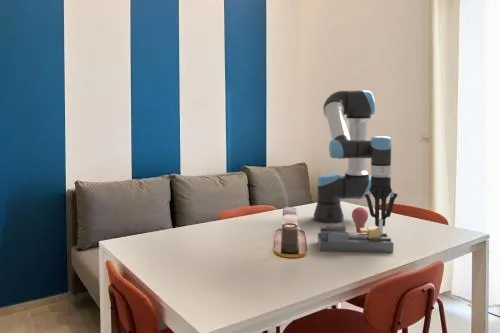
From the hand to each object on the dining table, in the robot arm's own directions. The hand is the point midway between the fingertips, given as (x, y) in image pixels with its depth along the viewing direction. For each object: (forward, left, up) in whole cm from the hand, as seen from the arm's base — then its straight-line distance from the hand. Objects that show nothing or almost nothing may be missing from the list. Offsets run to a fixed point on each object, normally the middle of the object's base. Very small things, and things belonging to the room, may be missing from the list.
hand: (380, 233), depth 167 cm
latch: (-3, -3, -1) cm, 4 cm away
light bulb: (-17, +11, -6) cm, 21 cm away
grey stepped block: (-7, -7, -6) cm, 12 cm away
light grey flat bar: (-9, -10, -1) cm, 13 cm away
